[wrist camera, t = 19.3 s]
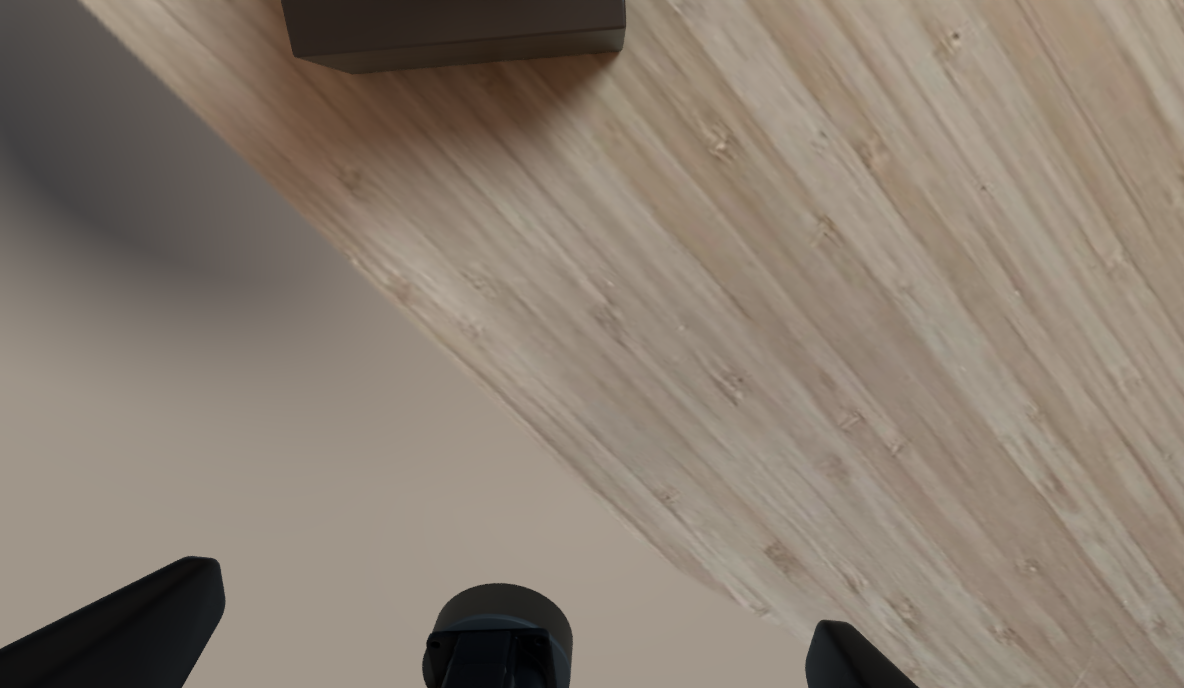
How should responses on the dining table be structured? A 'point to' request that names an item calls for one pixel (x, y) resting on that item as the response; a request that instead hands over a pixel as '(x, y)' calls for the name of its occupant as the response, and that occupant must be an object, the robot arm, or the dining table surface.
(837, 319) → the dining table surface
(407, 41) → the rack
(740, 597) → the dining table surface
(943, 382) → the dining table surface
